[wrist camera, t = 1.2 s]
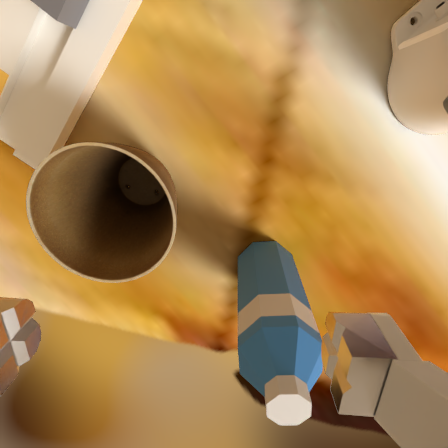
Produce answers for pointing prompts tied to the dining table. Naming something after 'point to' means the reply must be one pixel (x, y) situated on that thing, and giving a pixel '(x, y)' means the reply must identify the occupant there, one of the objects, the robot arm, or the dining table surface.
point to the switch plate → (52, 70)
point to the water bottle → (277, 332)
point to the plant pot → (103, 210)
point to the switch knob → (64, 10)
